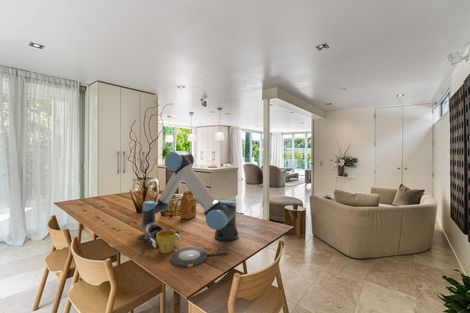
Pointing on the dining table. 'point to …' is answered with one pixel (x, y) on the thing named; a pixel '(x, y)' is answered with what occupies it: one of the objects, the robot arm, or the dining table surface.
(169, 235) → the plant pot
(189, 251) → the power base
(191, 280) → the dining table surface
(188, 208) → the coffee package
